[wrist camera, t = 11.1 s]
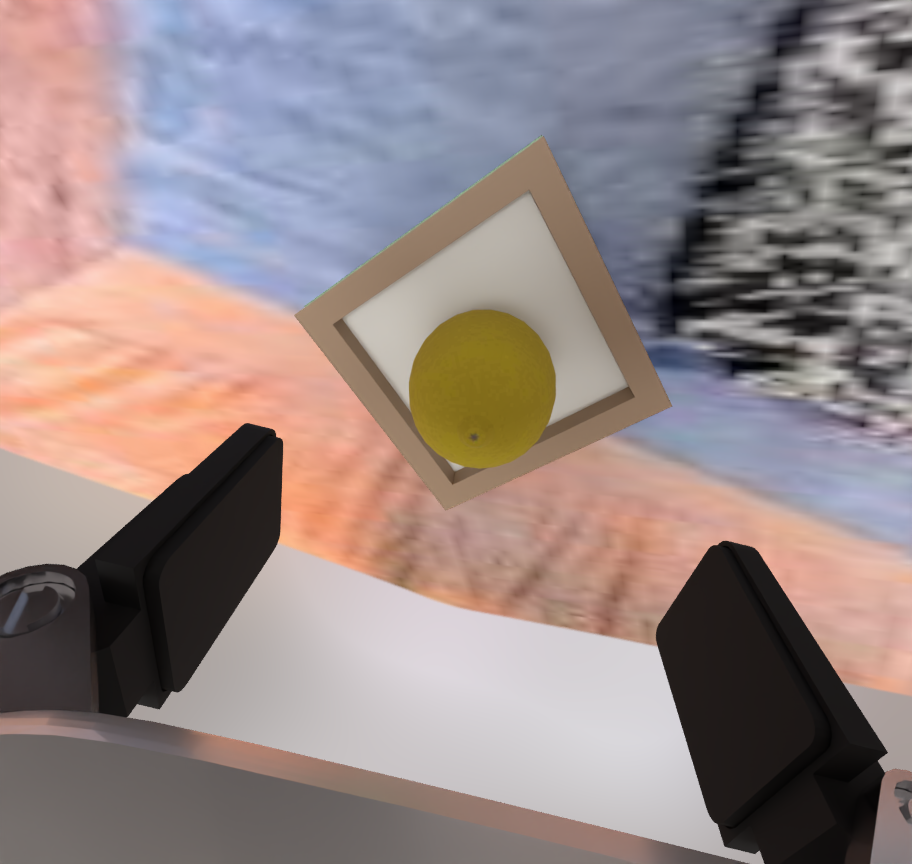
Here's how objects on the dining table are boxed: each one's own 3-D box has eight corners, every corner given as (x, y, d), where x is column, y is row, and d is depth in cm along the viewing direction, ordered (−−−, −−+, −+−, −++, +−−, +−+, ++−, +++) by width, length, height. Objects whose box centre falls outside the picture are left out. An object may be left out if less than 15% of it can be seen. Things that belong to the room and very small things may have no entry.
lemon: (528, 270, 19) (536, 326, 12) (562, 386, 22) (585, 487, 15) (408, 314, 21) (356, 385, 14) (452, 418, 23) (427, 524, 16)
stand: (631, 348, 28) (675, 406, 20) (459, 437, 32) (445, 512, 24) (533, 146, 23) (544, 131, 16) (347, 279, 27) (290, 314, 20)
